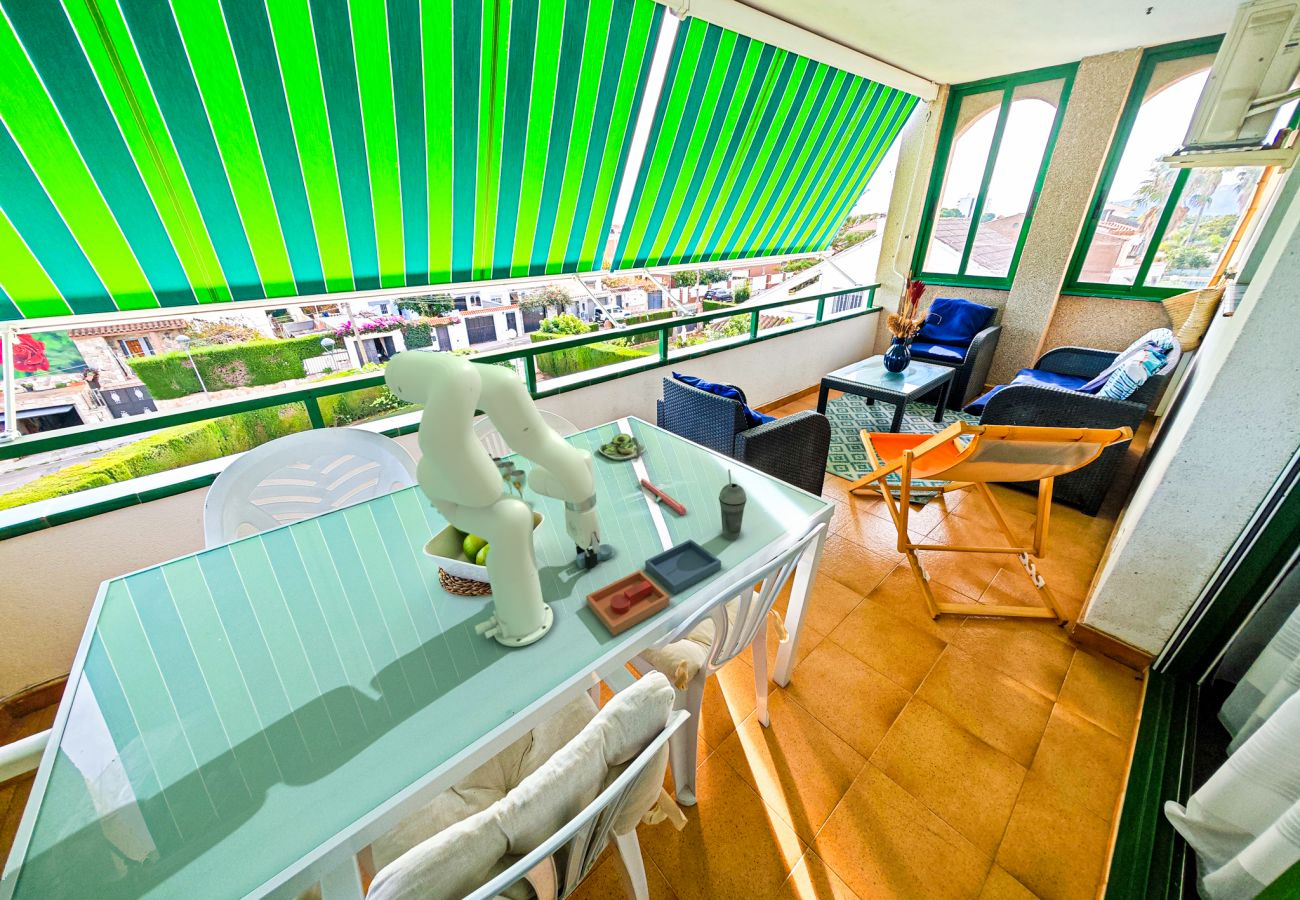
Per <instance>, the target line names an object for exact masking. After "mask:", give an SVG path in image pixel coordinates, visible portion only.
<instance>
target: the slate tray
mask: <svg viewBox="0 0 1300 900" xmlns="http://www.w3.org/2000/svg"><path fill="white" fill-rule="evenodd" d="M644 564H645V565H644V566H645V567H644V568H645V570H646V571H647V572H648V573H649V574H651V575H652V576H653V577H654V578H655V579H656V581H658V582H660V583H661V584H662V585H663V586H664V587H665V588H666V589H667V590H669V591H670V593H672V594H673V595H676V594H678V593H680V592H682V591H684V590H685V589H687V588H689V587H691V586H693V585H695V584H696V583H698V582H700V581H702V580H704V579H705V578H707V577H709V576H711V575H713V574H715V573H716V572H719V571H720V570H722V560H720V559H719V558H718V557H716V556H715V555H714V554H712V553H711V552H709V551H708V550H707V549H705V548H704V547H702V546H701V545H700V544H698V543H697V542H695V541H694V540H692V539H688V540H685V541H684V542H681V543H679V544H677V545H674V546H673V547H671V548H668V549H667V550H665V551H663V552H661V553H658V554H656V555H654V556H652V557H650V558H648V559H646V560H644Z"/></svg>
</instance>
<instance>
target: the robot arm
mask: <svg viewBox="0 0 1300 900" xmlns="http://www.w3.org/2000/svg"><path fill="white" fill-rule="evenodd" d="M384 381H385V384H386V387H387V388H388V390H389V391H390V392H391V393H392V394H393V395H394V396H395V397H396V398H397V399H399V400H400V401H404V402H406V403H409V404H416V405H421V406H424V408H423V411H422V414H421V418H420V423H419V426H418V432H417V443H418V446H419V450H420V451H421V453H422V456H421V457H420V459H419V461H418V463H417V466H416V471H415V473H416V481H417V484H418V487H419V489H420V491H421V492H422V493H423V494H424V496H425V497H426V499H428V501H429V502H430V503H431V504H432V505H433V506H434V508H435V509H436V510H437V511H438V512H439V513H440V515H441V516H442V517H443V518H444V519H445V520H446V522H448V523H449V524H450V525H451V526H453V527H454V528H455V529H457V530H459V531H461V532H464V533H467V534H469V535H472V536H474V537H477V538H479V539H482V540H484V541H485V542H487V544H488V546H489V548H488V551H487V552H486V555H485V559H484V560H485V561H484V562H485V567H486V572H487V576H488V579H489V580H488V581H489V584H490V589H491V593H492V599H493V602H494V607H495V609H494V610H492V615H493V616H490V617H488V618H489V619H488V620H486V621H484V622H480V623H478V624H476V625H474V629H475V633H476V635H477V636H480V635H482V634H483V633H484V635H485V638H486V639H490V638H491V637H493V636H494V639H495V640H496V641H497V642H498V643H500V644H501V645H503V646H506V647H513V648H514V647H524V646H527V645H530V644H532V643H534V642H537V641H538V640H540V639H541V638H544V636H546V634H547V633H548V632H549V630H551V627H552V625H553V623H554V614H553V613H554V612H553V610H552V607H550V605H549V604H548V603H547V602H544V599H543V598H544V597H543V593H542V587H541V582H540V575H539V569H538V564H537V558H536V552H535V546H534V524H535V515H534V510H533V508H532V506H530V505H531V504H530V503H529V504H530V505H529V504H528V502H527V500H525V499H524V498H523V499H522V498H521V496H518V495H515V494H513V493H512V494H513V495H512V494H511V493H509V492H505V491H504V481H503V479H502V476H501V474H500V471H499V469H498V468H497V466H496V465H495V463H494V462H493V460H492V459H491V457H490V456H489V454H490V453H488V451H487V450H486V448H485V447H484V445H483V443H482V442H481V440H480V439H479V437H478V435H477V433H476V432H475V428H474V417H475V412H476V410H479V411H482V412H483V413H485V415H486V416H487V417H488V419H489V420H490V421H491V423H492V424H493V426H494V428H495V429H496V430H497V432H498V433H499V435H500V437H501V438H502V440H503V441H504V443H505V444H506V445H507V447H508V448H509V449H510V450H511V451H512V452H514V453H516V454H518V455H519V456H520V457H522V458H524V459H526V460H527V461H530V462H531V463H534V464H536V465H534V466H533V467H532V468H531V469H530V471H529V473H528V475H527V485H528V487H529V489H530V490H531V491H533V492H534V493H535V494H538V495H541V496H543V497H544V496H545V497H547V498H551V499H556V500H559V501H563V502H564V515H565V527H566V533H567V535H568V537H570V539H571V540H572V541H573V542H574V545H575V550H576V551H575V552H576V555H578V554H581V553H583V552H585V553H586V555H584V557H585V566H586V567H585V569H587V570H589V569H591V568H593V567H595V566H597V565H598V564H599V562H598V560H597V553H598V552H600V551H601V550H600V547H599V546H600V543H601V529H600V523H599V517H598V512H597V508H596V507H597V504H598V503H597V493H596V483H595V473H594V461H593V455H592V454H591V452H590V451H589V450H587V449H585V448H575V447H574V446H573V445H572V444H571V443H570V442H569V441H567V440H566V439H565V438H563V436H561V434H559V433H558V432H557V431H555V430H554V429H553V428H552V427H550V426H549V425H548V423H546V421H545V419H544V418H543V416H542V413H541V412H540V410H539V408H538V406H537V405H536V404H535V401H534V400H533V397H532V396H531V394H530V393H529V390H528V388H527V387H526V385H525V384H524V382H523V380H522V378H521V377H520V375H519V374H518V373H517V372H516V371H515V370H514V369H511V368H510V367H507V366H503V365H497V364H490V363H481V362H473V361H470V360H469V359H467V358H466V357H465V358H464V357H462V356H459V355H454V354H448V353H440V352H431V351H430V352H429V351H420V350H405V351H400V352H399V353H396V354H395V355H394V356H392V357H391V358H390V359H389V361H387V363H386V365H385V369H384ZM502 491H503V492H502ZM590 547H592V548H590Z"/></svg>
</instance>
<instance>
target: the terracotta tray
mask: <svg viewBox="0 0 1300 900" xmlns="http://www.w3.org/2000/svg"><path fill="white" fill-rule="evenodd" d="M644 581H647V582H648V583H649V584H650V585H651V589H652V595H651V596H649V597H647V598H645V599H643V600H641V601H639V602H638V603H636V604H634V605H632V606H631V608H630V610H629V611H628V612H627V613H625V614H615V613H613V612H612V610H611V604H610V601H611V599H612V597H614V596H615V595H618V594H624V591H626V590H628V589H630V588H632V587H634V586H636V585H638V584H640V583H642V582H644ZM585 597H586V605H587V606H588V607H589V609H590V610H591V611H592V612H593V613H594V614H595V616H596V617H597V618H598V619H599V620H600V622H601V623H602V624H603V625H604V627H605V628H606V629H607V630H608V632H610V633H611V635H612V636H613V637H615V636H617V635H619V634H621V633H622V632H625V631H626V630H627V629H630V628H631V627H633V626H635V625H636V624H638V623H640V622H642V621H644V620H646V619H647V618H649V617H652V616H653V615H655V614H656V613H659V612H660V611H662V610H663V609H666V608H667V607H669V606H670V596H669V595H668V594H667V593H666V592H665V591H664V590H663V589H662V588H661V587H660V586H659V585H657V584H656V583H655V582H654V581H653V580H652V579H651V578H650V577H649V576H647V575H646V574H645V573H644V572H643V571H642V570H641V569H638V570H637V571H633V572H632V573H630V574H629V575H626V576H624V577H622V578H620V579H618V580H616V581H613V582H612V583H610V584H608V585H606V586H603V587H602V588H599V589H598V590H595V591H593V592H591V593H589V594H587V595H586V596H585Z"/></svg>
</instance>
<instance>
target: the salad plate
mask: <svg viewBox="0 0 1300 900" xmlns="http://www.w3.org/2000/svg"><path fill="white" fill-rule="evenodd" d="M597 451H598V452H599V454H600V455H602V456H605V457H606V458H609V459H612V460H615V461H628V460H632V459H633V458H637V457H642V456H643V453H644V452H645V451H646V446H645V444H643V443H641V442H639V441H638V439H637V438H636V437H633V436H632V437H631V435H630V434H628V433H619V434H617V435H614V436H613V437H612V440H611V441H608V442H605V443H602V444H600V445H598V448H597Z"/></svg>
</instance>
